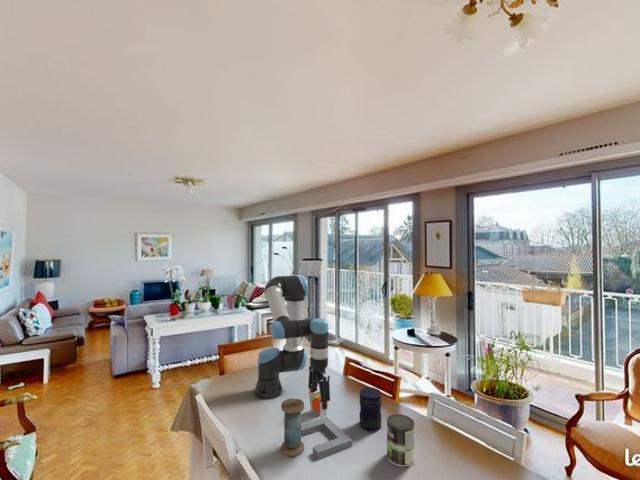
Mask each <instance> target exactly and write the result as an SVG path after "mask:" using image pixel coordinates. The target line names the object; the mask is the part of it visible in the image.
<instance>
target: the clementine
mask: <svg viewBox="0 0 640 480" xmlns="http://www.w3.org/2000/svg"><path fill="white" fill-rule="evenodd" d="M320 400H321V395H317V396H315V397H314V398H313V399H312V400H311V401H312V408H313V410H314V411H315V412H316V413H320ZM310 403H311V402H310V401H309V404H310ZM328 406H329V401H327V408H328Z"/></svg>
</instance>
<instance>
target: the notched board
mask: <svg viewBox="0 0 640 480" xmlns="http://www.w3.org/2000/svg"><path fill="white" fill-rule="evenodd" d="M321 430H324V431H325V432H326V433H327V434H328V436H330V437H331V438H332V439H331V440H327V441H325V442H322V443H321V444H316V445H315V446H312V454H313V455H314V457H315V458H316V459H317V460H320V459H323V458H325V457H328V456H330V455H333V454H336V453H339V452H340V451H343V450H346V449H349V448H352V447H353V439H352V438H351V437H350V436H349V435H348V434H347V433H345V431H344V430H342V429H341V428H340V427H339V426H337V424H335V423H334V422H333V421H332V420H331V419H330V418H329V417H328V416H324V417H320V418H318V419H315V420H312V421H308V422H304V423H301V437H303V436H307V435H310V434H312V433H313V434H314V433H316V432H319V431H321Z"/></svg>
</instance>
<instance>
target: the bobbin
mask: <svg viewBox="0 0 640 480" xmlns="http://www.w3.org/2000/svg"><path fill="white" fill-rule="evenodd" d="M304 409H305V402H304V401H303V400H302V399H300V398H292V397H291V398H287V399H284V400H283V401H282V402H281V411H282V412H284V415H283V416H284V418H283V419H284V421H283V424H284V425H283V427H284V428H283V430H284V431H283V434H284V435H283V442H282V443H281V445H280V452H281V454H282V455H283V456H285V457H288V458H297V457H299V456H301V455H302V454H303V453H304V449H305V447H304V442H303V441H302V439H301V438H302V436H301V425H302V423H301V422H302V412H303V411H304Z"/></svg>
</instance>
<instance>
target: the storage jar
mask: <svg viewBox="0 0 640 480" xmlns="http://www.w3.org/2000/svg"><path fill="white" fill-rule="evenodd" d="M359 406H360V409H359V427H360V429H362V430H364V431H367V432H371V433H372V432H379V431H380V430H381V429H382V421H383V420H382V412H381V411H382V391H381V390H380V389H378V388H375V387H369V386H368V387H363V388H361V389H360V390H359Z"/></svg>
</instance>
